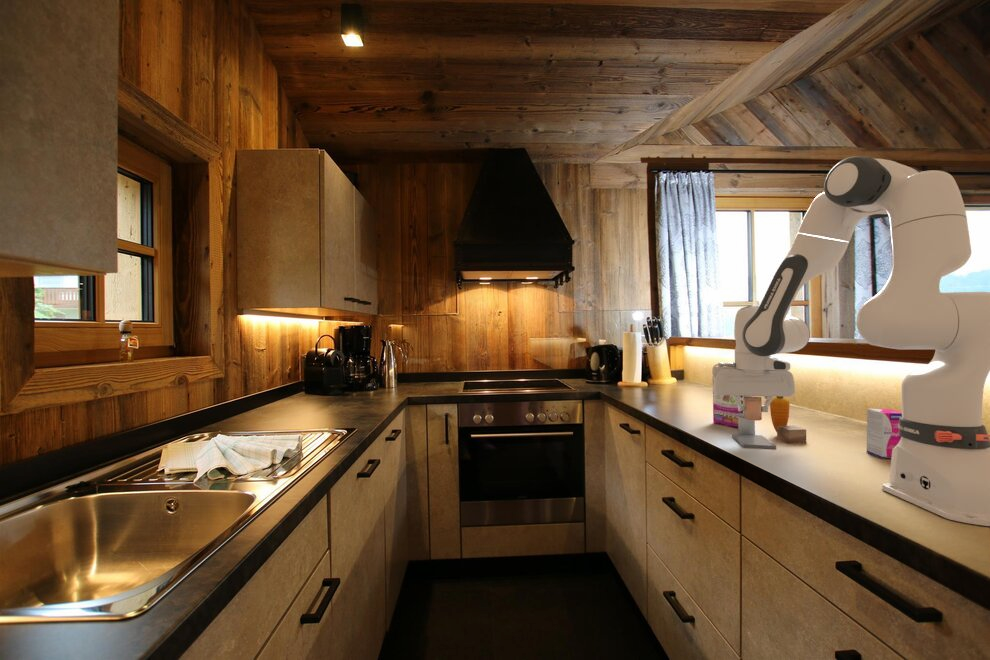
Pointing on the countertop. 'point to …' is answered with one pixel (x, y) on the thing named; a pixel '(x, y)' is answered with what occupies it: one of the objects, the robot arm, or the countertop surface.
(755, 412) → the terracotta jar
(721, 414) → the candy bar box
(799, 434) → the walnut block
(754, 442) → the slate coaster
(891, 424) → the supplement box
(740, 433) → the grey-blue jar
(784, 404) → the carrot
